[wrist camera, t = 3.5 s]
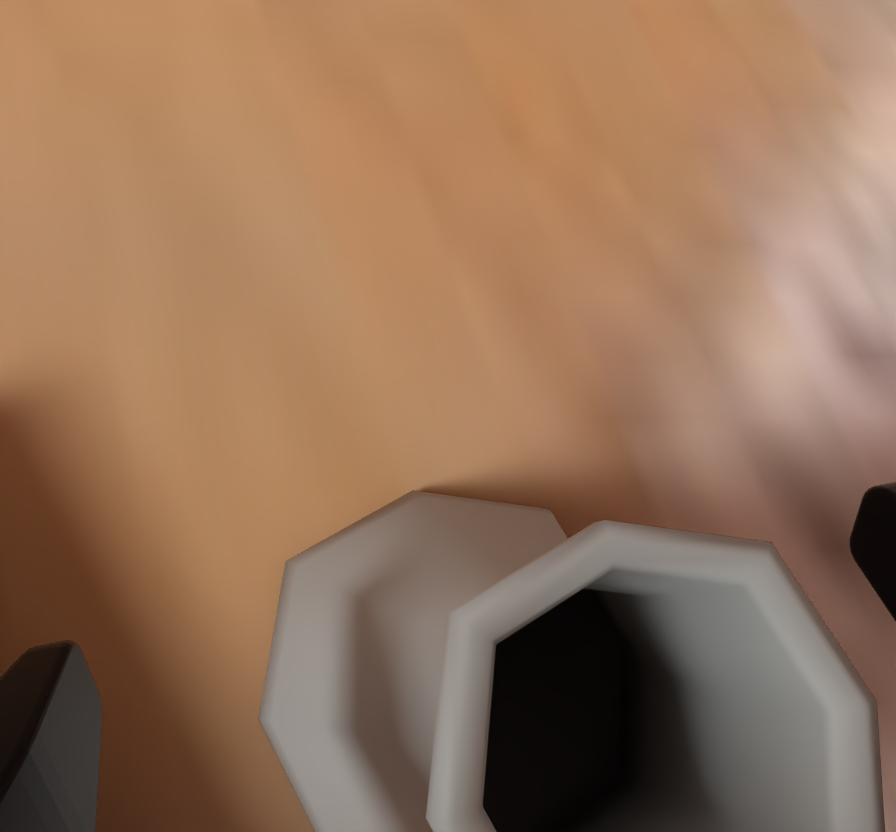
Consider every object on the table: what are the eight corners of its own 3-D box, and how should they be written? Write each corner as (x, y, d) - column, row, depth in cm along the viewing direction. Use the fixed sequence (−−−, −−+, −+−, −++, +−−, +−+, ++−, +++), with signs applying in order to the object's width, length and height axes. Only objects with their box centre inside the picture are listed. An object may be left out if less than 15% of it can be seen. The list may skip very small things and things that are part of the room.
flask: (668, 822, 14) (1362, 1227, 5) (290, 935, 13) (146, 1874, 3) (573, 462, 16) (929, 211, 6) (233, 526, 14) (31, 327, 5)
